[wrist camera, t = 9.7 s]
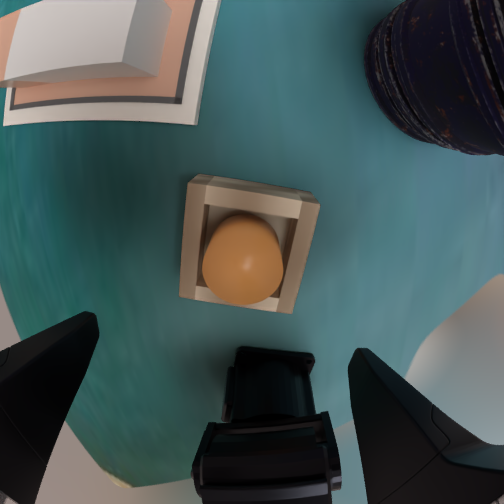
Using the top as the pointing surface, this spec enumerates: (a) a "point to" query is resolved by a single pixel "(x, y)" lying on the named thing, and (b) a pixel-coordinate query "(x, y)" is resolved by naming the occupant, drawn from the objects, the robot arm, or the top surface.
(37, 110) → the picture board
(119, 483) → the top surface
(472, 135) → the storage jar
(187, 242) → the button block
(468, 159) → the top surface
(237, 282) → the button
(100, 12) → the two-tone rectangular block
